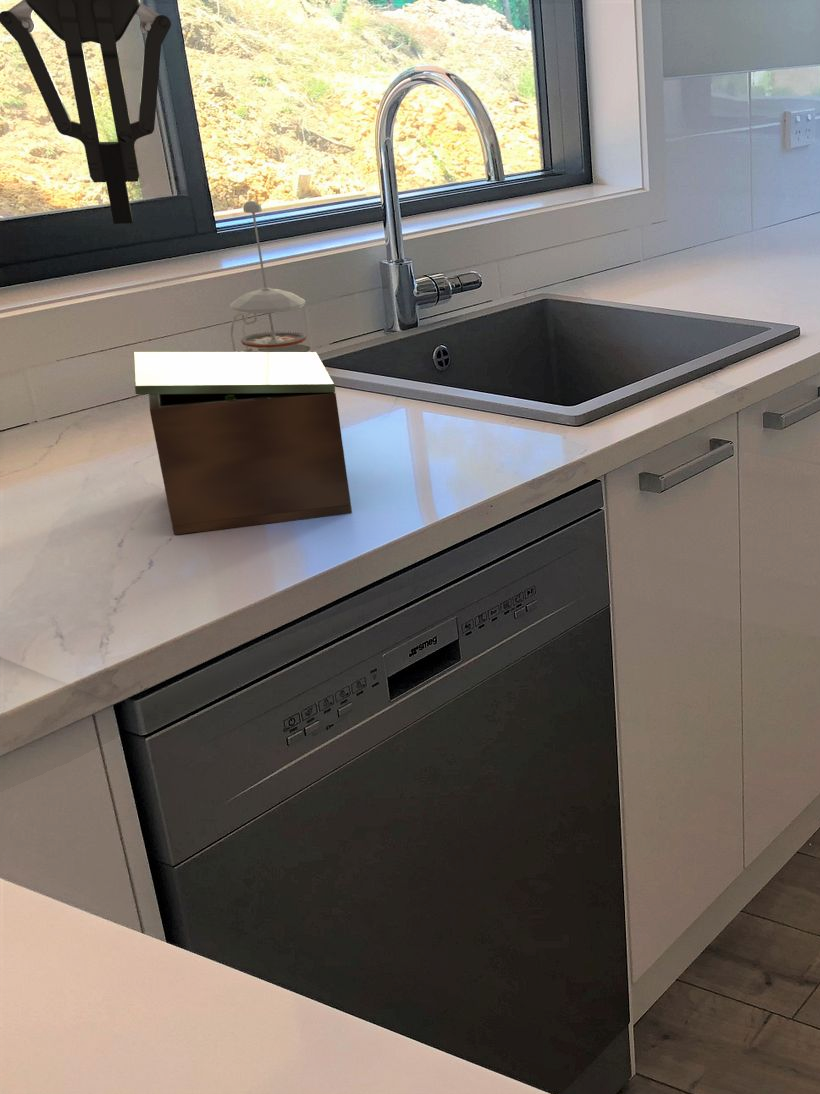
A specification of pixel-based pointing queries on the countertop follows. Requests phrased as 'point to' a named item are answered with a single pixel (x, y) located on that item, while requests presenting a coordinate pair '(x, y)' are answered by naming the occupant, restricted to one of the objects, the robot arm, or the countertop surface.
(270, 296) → the french press
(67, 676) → the countertop surface
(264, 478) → the chest
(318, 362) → the lid
